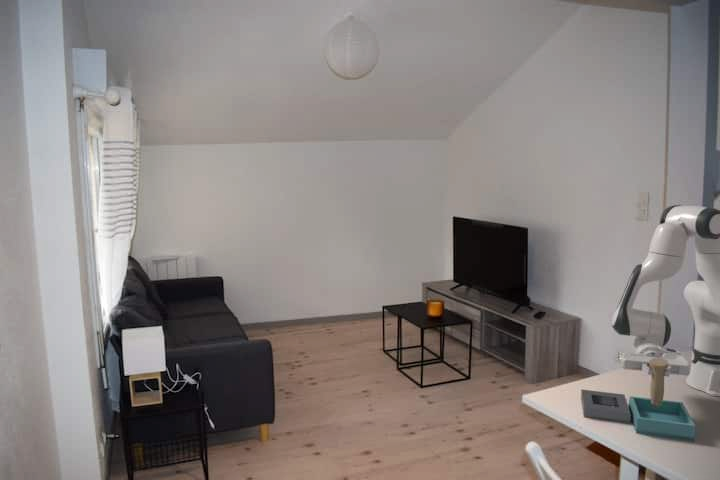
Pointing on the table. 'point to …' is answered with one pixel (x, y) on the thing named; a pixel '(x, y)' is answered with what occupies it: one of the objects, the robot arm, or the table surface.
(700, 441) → the table surface
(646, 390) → the table surface
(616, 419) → the socket block
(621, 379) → the table surface
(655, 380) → the handle
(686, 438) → the bin
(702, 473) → the table surface
